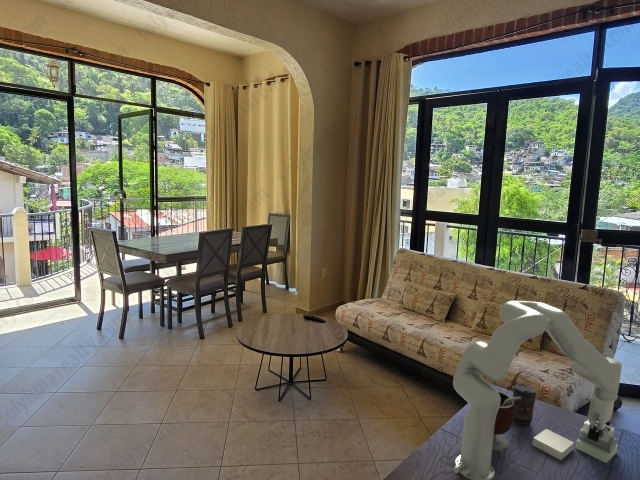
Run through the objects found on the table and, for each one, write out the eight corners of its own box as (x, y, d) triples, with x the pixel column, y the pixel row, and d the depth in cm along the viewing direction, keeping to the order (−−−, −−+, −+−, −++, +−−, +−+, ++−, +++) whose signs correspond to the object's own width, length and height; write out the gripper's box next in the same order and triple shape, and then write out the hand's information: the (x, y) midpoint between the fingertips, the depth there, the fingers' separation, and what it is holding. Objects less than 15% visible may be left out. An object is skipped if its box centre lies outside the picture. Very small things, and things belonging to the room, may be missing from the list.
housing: (578, 438, 152) (581, 420, 151) (584, 433, 156) (587, 415, 155) (609, 453, 145) (612, 434, 143) (615, 447, 148) (618, 429, 147)
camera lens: (535, 428, 163) (540, 393, 161) (515, 427, 163) (519, 392, 161) (526, 417, 171) (530, 383, 169) (506, 416, 171) (510, 382, 169)
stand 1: (560, 460, 145) (562, 452, 144) (532, 445, 152) (533, 437, 152) (573, 449, 150) (574, 442, 150) (545, 435, 158) (546, 428, 158)
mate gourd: (468, 444, 152) (473, 394, 149) (473, 424, 164) (478, 378, 161) (514, 458, 145) (520, 406, 142) (516, 437, 157) (521, 388, 154)
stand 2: (606, 463, 144) (607, 455, 143) (575, 447, 152) (576, 440, 151) (616, 452, 150) (617, 445, 149) (586, 438, 158) (587, 431, 157)
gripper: (602, 381, 155) (596, 422, 158) (583, 394, 145) (577, 438, 148) (625, 389, 149) (618, 432, 152) (607, 403, 139) (600, 449, 142)
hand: (598, 435), depth 150 cm, fingers open, 9 cm apart
